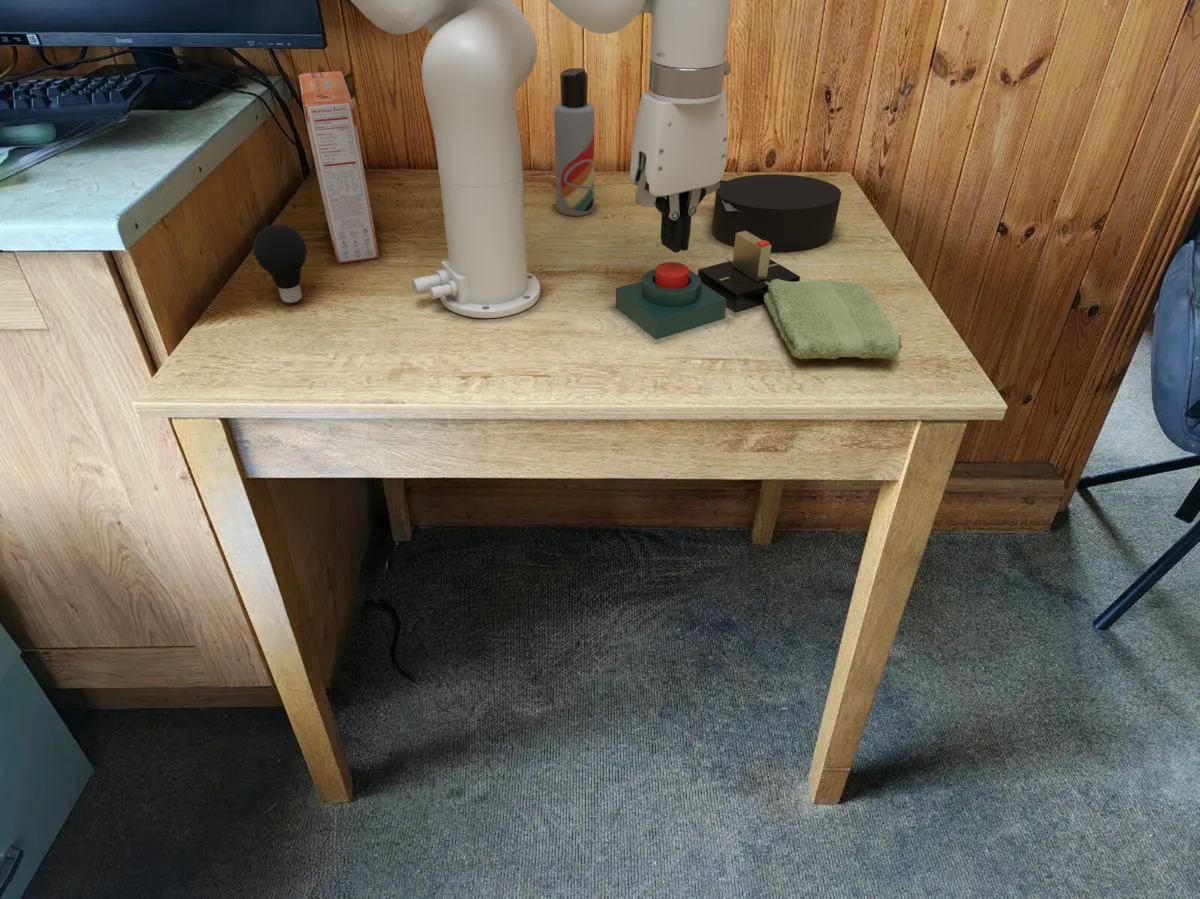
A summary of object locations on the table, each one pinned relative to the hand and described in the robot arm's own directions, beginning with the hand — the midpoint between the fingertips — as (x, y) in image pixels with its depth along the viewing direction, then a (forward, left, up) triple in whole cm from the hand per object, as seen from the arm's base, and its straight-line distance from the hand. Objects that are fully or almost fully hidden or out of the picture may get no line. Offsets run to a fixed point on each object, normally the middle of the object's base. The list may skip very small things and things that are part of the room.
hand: (674, 246), depth 97 cm
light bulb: (-39, +25, -9) cm, 47 cm away
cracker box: (-27, +39, -9) cm, 48 cm away
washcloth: (+13, -13, -8) cm, 20 cm away
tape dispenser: (+27, +13, -9) cm, 31 cm away
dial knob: (+12, 0, -6) cm, 13 cm away
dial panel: (+12, 0, -9) cm, 15 cm away
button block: (0, 0, -9) cm, 9 cm away
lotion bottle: (+6, +34, -9) cm, 36 cm away
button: (0, 0, -5) cm, 5 cm away
